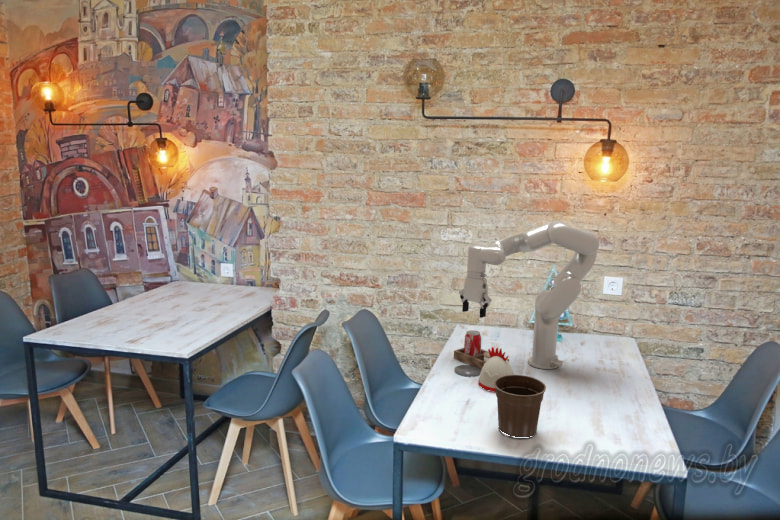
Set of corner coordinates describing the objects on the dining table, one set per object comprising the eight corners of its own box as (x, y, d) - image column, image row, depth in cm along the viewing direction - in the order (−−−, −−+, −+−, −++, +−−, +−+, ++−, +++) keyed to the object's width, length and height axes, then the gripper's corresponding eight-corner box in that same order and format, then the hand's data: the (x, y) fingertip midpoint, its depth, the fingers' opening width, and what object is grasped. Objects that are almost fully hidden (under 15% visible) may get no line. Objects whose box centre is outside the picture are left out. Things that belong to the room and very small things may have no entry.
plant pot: (510, 447, 186) (513, 398, 182) (482, 424, 200) (484, 378, 197) (552, 437, 192) (556, 390, 189) (522, 415, 206) (525, 371, 203)
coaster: (487, 372, 243) (487, 371, 243) (468, 378, 237) (468, 377, 236) (467, 364, 252) (467, 362, 252) (448, 370, 245) (448, 369, 245)
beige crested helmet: (488, 375, 241) (490, 339, 238) (520, 383, 233) (523, 346, 230) (472, 386, 230) (474, 349, 227) (505, 395, 222) (507, 357, 219)
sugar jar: (498, 366, 249) (499, 354, 248) (490, 370, 246) (490, 357, 245) (488, 363, 253) (489, 350, 252) (480, 366, 250) (480, 353, 249)
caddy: (508, 367, 249) (509, 359, 248) (490, 373, 242) (491, 365, 241) (471, 352, 264) (471, 345, 264) (453, 358, 258) (453, 350, 257)
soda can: (479, 363, 253) (481, 335, 250) (462, 361, 254) (464, 334, 252) (480, 357, 260) (482, 330, 257) (464, 355, 261) (465, 329, 258)
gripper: (498, 277, 245) (495, 317, 249) (466, 269, 258) (464, 307, 262) (485, 280, 240) (483, 321, 244) (454, 271, 253) (452, 310, 257)
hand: (473, 314), depth 253 cm, fingers open, 9 cm apart
